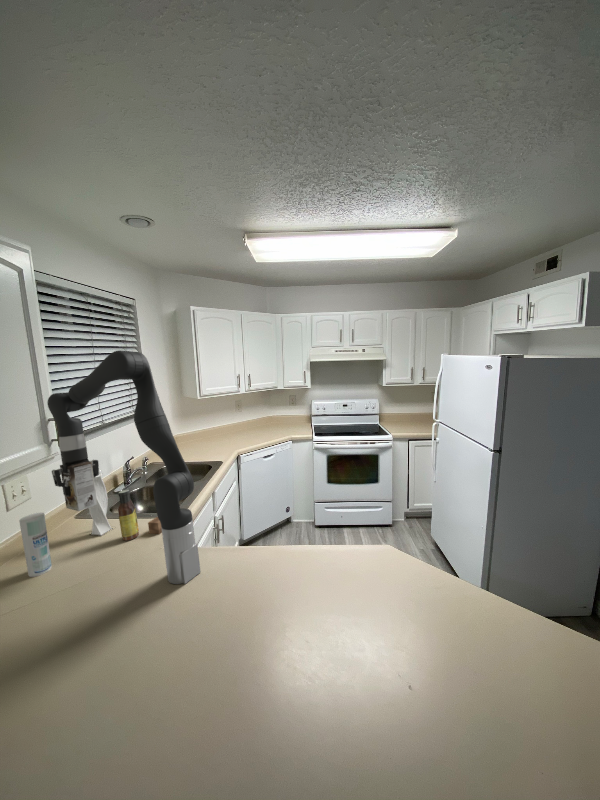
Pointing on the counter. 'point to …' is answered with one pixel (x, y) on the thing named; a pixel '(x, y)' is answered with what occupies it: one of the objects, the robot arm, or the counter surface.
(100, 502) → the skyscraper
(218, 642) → the counter surface
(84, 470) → the coffee box
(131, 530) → the sauce bottle
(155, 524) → the walnut block
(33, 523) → the spray can
